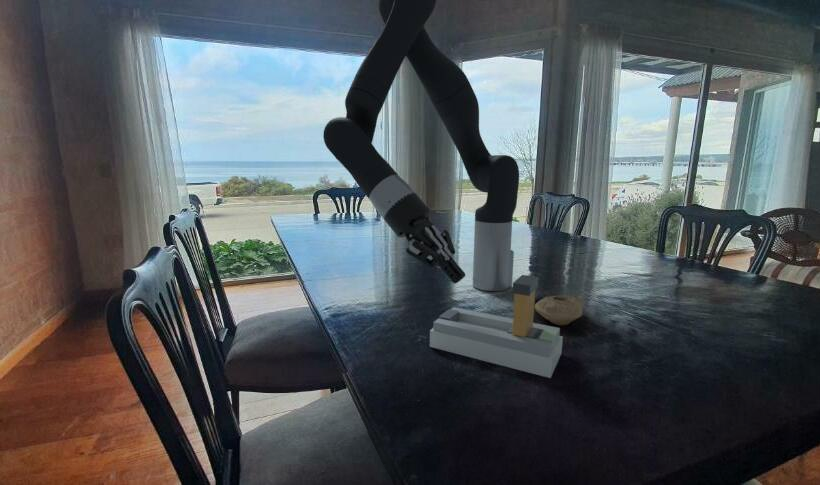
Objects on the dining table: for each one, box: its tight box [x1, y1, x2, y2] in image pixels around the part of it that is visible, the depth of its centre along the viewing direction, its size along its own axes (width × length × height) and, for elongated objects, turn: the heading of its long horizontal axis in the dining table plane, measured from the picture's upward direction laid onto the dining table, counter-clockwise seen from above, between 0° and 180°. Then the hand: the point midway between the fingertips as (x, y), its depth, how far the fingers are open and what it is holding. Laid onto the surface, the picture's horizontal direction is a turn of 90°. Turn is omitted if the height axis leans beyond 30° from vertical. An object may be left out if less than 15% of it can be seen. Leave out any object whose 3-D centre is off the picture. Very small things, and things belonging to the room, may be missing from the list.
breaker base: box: [429, 306, 564, 379], centre depth 66 cm, size 20×9×5 cm, turn 60°
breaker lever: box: [507, 274, 539, 339], centre depth 62 cm, size 4×5×10 cm
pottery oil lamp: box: [534, 294, 586, 326], centre depth 79 cm, size 9×12×7 cm
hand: (460, 279), depth 67 cm, fingers closed
